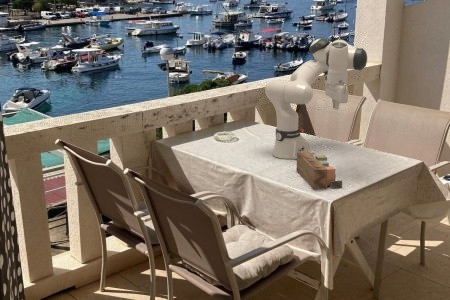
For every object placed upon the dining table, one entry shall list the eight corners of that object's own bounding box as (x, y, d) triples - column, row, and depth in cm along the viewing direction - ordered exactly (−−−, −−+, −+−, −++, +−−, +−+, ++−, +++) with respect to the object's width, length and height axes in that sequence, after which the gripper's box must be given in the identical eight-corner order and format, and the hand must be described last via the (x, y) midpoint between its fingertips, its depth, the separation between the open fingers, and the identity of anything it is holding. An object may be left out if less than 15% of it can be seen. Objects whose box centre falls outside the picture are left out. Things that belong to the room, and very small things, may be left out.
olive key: (323, 169, 279) (324, 154, 276) (326, 172, 275) (327, 157, 273) (314, 170, 278) (315, 155, 276) (317, 173, 274) (318, 157, 272)
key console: (322, 168, 281) (323, 150, 279) (341, 187, 256) (343, 167, 254) (296, 170, 279) (297, 151, 276) (313, 189, 254) (314, 169, 252)
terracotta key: (331, 182, 262) (332, 166, 260) (334, 185, 258) (335, 169, 256) (322, 182, 262) (323, 166, 259) (325, 185, 258) (326, 169, 256)
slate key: (325, 175, 270) (326, 160, 268) (328, 178, 266) (329, 163, 264) (316, 176, 270) (317, 160, 267) (319, 179, 266) (319, 163, 264)
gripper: (352, 82, 254) (350, 113, 258) (336, 75, 273) (334, 104, 277) (338, 83, 253) (337, 114, 257) (323, 75, 272) (321, 104, 276)
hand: (335, 108), depth 267 cm, fingers closed
